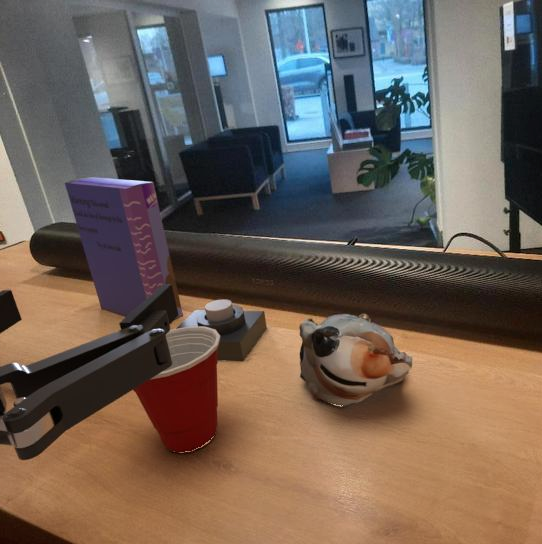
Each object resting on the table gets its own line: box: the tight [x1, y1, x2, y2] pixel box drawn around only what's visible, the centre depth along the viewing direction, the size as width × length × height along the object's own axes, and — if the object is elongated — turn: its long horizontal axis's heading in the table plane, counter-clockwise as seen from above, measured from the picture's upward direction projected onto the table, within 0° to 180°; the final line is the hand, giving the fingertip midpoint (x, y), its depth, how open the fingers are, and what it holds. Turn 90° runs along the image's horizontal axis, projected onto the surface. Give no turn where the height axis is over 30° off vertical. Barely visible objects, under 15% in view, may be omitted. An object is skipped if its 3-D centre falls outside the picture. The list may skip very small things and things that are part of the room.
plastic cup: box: [132, 326, 220, 452], centre depth 55 cm, size 11×11×12 cm
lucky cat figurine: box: [298, 312, 413, 407], centre depth 61 cm, size 15×12×14 cm
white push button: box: [204, 298, 234, 322], centre depth 75 cm, size 4×4×2 cm
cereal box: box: [64, 176, 184, 321], centre depth 86 cm, size 17×5×24 cm, turn 58°
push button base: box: [175, 304, 268, 362], centre depth 76 cm, size 12×10×5 cm
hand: (90, 302), depth 40 cm, fingers open, 13 cm apart
